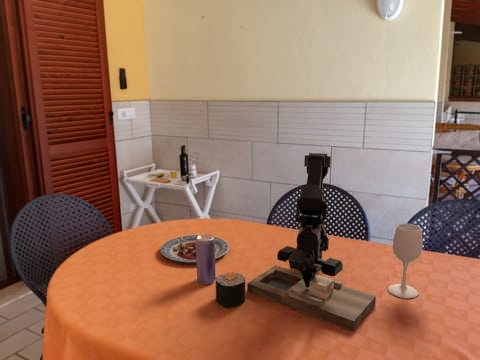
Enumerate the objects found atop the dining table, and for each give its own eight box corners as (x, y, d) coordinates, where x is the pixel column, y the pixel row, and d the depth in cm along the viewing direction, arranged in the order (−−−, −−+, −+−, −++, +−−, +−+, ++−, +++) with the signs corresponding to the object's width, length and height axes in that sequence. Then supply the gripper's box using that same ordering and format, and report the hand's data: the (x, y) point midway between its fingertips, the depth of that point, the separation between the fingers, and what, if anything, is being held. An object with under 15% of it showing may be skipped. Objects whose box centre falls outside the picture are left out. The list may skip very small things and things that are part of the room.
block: (317, 287, 124) (318, 275, 123) (333, 292, 121) (333, 280, 120) (309, 294, 120) (310, 281, 119) (325, 299, 117) (326, 286, 116)
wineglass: (417, 287, 130) (424, 224, 125) (419, 301, 122) (426, 233, 117) (387, 283, 133) (393, 220, 128) (387, 296, 125) (393, 230, 120)
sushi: (211, 299, 123) (210, 274, 121) (233, 291, 128) (233, 267, 126) (227, 311, 117) (226, 285, 115) (250, 301, 122) (250, 276, 120)
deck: (275, 273, 140) (275, 260, 139) (375, 305, 120) (376, 291, 119) (247, 292, 127) (247, 278, 126) (353, 331, 107) (354, 315, 106)
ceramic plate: (242, 248, 161) (242, 241, 161) (201, 273, 140) (201, 265, 139) (190, 235, 175) (190, 228, 174) (146, 256, 153) (145, 249, 153)
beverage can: (212, 286, 131) (212, 241, 128) (194, 284, 132) (193, 240, 129) (217, 277, 137) (216, 234, 133) (200, 275, 138) (199, 233, 134)
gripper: (267, 238, 119) (266, 288, 122) (327, 254, 107) (324, 308, 111) (287, 227, 127) (286, 274, 131) (345, 241, 116) (341, 292, 120)
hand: (307, 287), depth 123 cm, fingers closed
